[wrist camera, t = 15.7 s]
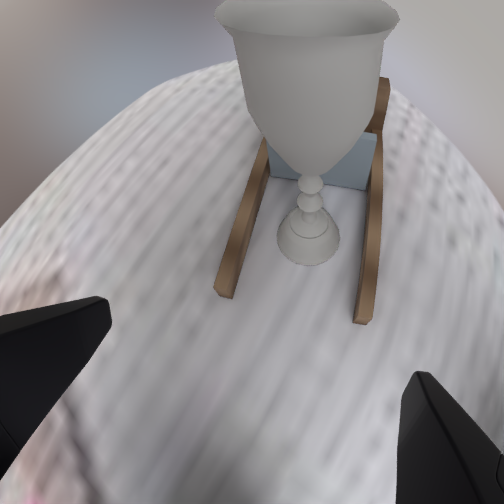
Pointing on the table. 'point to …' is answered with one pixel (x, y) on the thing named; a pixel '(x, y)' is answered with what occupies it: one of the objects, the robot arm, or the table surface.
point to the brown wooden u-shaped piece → (373, 223)
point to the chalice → (309, 94)
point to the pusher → (344, 172)
